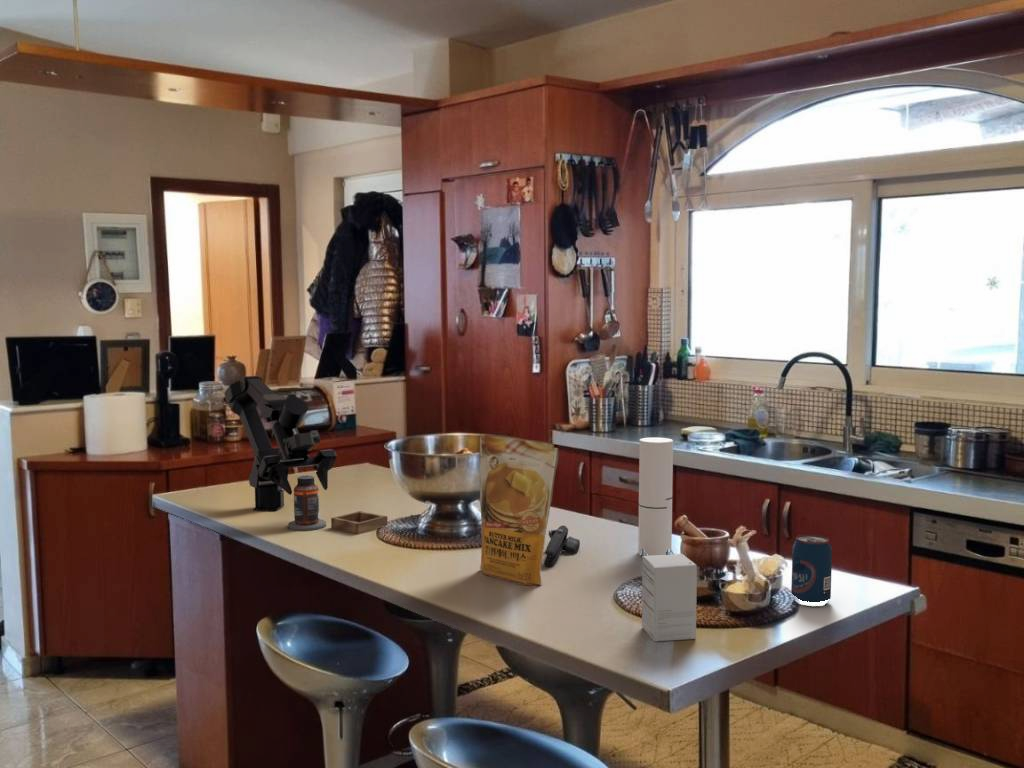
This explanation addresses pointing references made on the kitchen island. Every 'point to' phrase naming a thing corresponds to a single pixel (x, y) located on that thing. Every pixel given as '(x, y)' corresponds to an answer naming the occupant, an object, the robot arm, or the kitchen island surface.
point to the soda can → (811, 568)
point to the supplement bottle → (306, 501)
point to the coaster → (307, 526)
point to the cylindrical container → (655, 495)
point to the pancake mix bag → (515, 505)
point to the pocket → (358, 522)
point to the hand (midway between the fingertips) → (308, 491)
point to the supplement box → (669, 597)
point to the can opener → (559, 545)
